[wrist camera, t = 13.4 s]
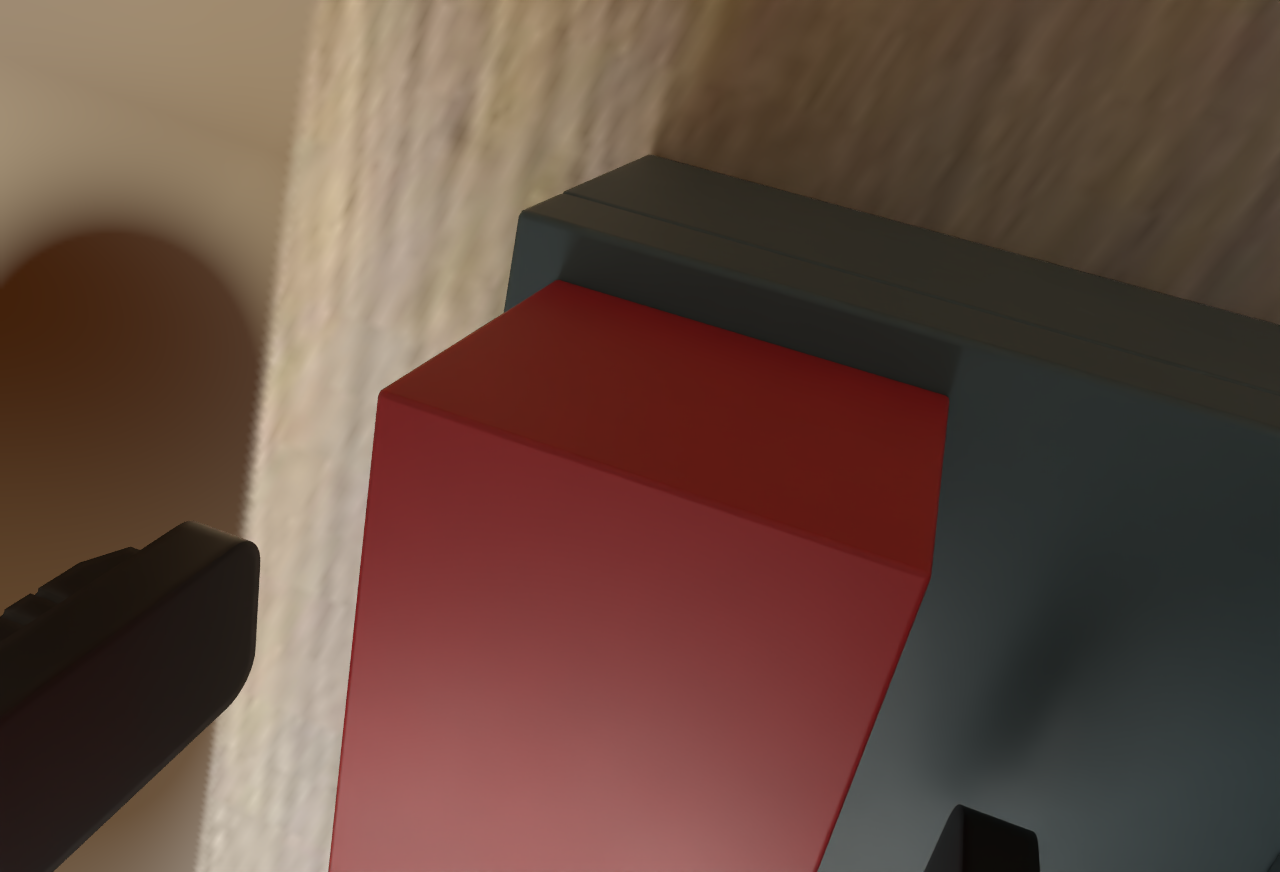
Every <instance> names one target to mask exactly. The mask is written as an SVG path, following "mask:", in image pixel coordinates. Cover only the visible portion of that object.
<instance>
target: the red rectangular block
mask: <svg viewBox="0 0 1280 872" xmlns="http://www.w3.org/2000/svg"><path fill="white" fill-rule="evenodd" d="M948 410H949V398H948V397H947V396H945V395H942V394H939V393H935V392H932V391H929V390H925V389H922V388H919V387H915V386H912V385H909V384H905V383H902V382H899V381H895V380H892V379H889V378H885V377H882V376H878V375H875V374H872V373H868V372H865V371H862V370H858V369H855V368H852V367H848V366H845V365H842V364H838V363H835V362H832V361H828V360H825V359H822V358H818V357H815V356H812V355H808V354H805V353H802V352H798V351H795V350H792V349H788V348H785V347H782V346H778V345H775V344H772V343H768V342H765V341H762V340H758V339H755V338H752V337H748V336H745V335H741V334H738V333H735V332H731V331H728V330H725V329H721V328H718V327H715V326H711V325H708V324H705V323H701V322H698V321H695V320H691V319H688V318H685V317H681V316H678V315H675V314H671V313H668V312H665V311H661V310H658V309H655V308H651V307H648V306H645V305H641V304H638V303H635V302H631V301H628V300H625V299H621V298H618V297H615V296H611V295H608V294H604V293H601V292H598V291H594V290H591V289H588V288H584V287H581V286H578V285H574V284H571V283H568V282H564V281H561V280H555V281H554V282H552V283H551V284H549V285H547V286H546V287H544V288H543V289H541V290H540V291H538V292H536V293H535V294H533V295H532V296H530V297H528V298H527V299H525V300H524V301H522V302H521V303H519V304H517V305H516V306H514V307H513V308H511V309H509V310H508V311H506V312H505V313H503V314H502V315H500V316H498V317H497V318H495V319H494V320H492V321H490V322H489V323H487V324H486V325H484V326H482V327H481V328H479V329H478V330H476V331H475V332H473V333H471V334H470V335H468V336H467V337H465V338H463V339H462V340H460V341H459V342H457V343H456V344H454V345H452V346H451V347H449V348H448V349H446V350H444V351H443V352H441V353H440V354H438V355H436V356H435V357H433V358H432V359H430V360H429V361H427V362H425V363H424V364H422V365H421V366H419V367H417V368H416V369H414V370H413V371H411V372H410V373H408V374H406V375H405V376H403V377H402V378H400V379H398V380H397V381H395V382H394V383H392V384H391V385H389V386H387V387H386V388H384V389H383V390H381V392H380V393H379V396H378V403H377V413H376V422H375V432H374V441H373V451H372V460H371V470H370V479H369V489H368V499H367V508H366V518H365V527H364V537H363V546H362V556H361V565H360V575H359V585H358V594H357V604H356V613H355V623H354V632H353V642H352V651H351V661H350V671H349V680H348V690H347V699H346V709H345V718H344V728H343V737H342V747H341V757H340V766H339V776H338V785H337V795H336V804H335V814H334V823H333V833H332V842H331V852H330V862H329V871H328V872H818V869H819V866H820V864H821V861H822V859H823V856H824V854H825V851H826V848H827V846H828V843H829V841H830V838H831V835H832V833H833V830H834V828H835V825H836V822H837V820H838V817H839V815H840V812H841V810H842V807H843V804H844V802H845V799H846V797H847V794H848V791H849V789H850V786H851V784H852V781H853V778H854V776H855V773H856V771H857V768H858V766H859V763H860V760H861V758H862V755H863V753H864V750H865V747H866V745H867V742H868V740H869V737H870V734H871V732H872V729H873V727H874V724H875V722H876V719H877V716H878V714H879V711H880V709H881V706H882V703H883V701H884V698H885V696H886V693H887V690H888V688H889V685H890V683H891V680H892V678H893V675H894V672H895V670H896V667H897V665H898V662H899V659H900V657H901V654H902V652H903V649H904V646H905V644H906V641H907V639H908V636H909V634H910V631H911V628H912V626H913V623H914V621H915V618H916V615H917V613H918V610H919V608H920V605H921V603H922V600H923V597H924V595H925V592H926V590H927V587H928V584H929V582H930V579H931V573H932V563H933V554H934V544H935V534H936V525H937V515H938V506H939V496H940V487H941V477H942V467H943V458H944V448H945V439H946V429H947V420H948Z"/></svg>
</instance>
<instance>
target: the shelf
mask: <svg viewBox="0 0 1280 872" xmlns="http://www.w3.org/2000/svg"><path fill="white" fill-rule="evenodd" d="M555 280H561V281H564V282H568V283H571V284H574V285H578V286H581V287H584V288H588V289H591V290H594V291H598V292H601V293H604V294H608V295H611V296H615V297H618V298H621V299H625V300H628V301H631V302H635V303H638V304H641V305H645V306H648V307H651V308H655V309H658V310H661V311H665V312H668V313H671V314H675V315H678V316H681V317H685V318H688V319H691V320H695V321H698V322H701V323H705V324H708V325H711V326H715V327H718V328H721V329H725V330H728V331H731V332H735V333H738V334H741V335H745V336H748V337H752V338H755V339H758V340H762V341H765V342H768V343H772V344H775V345H778V346H782V347H785V348H788V349H792V350H795V351H798V352H802V353H805V354H808V355H812V356H815V357H818V358H822V359H825V360H828V361H832V362H835V363H838V364H842V365H845V366H848V367H852V368H855V369H858V370H862V371H865V372H868V373H872V374H875V375H878V376H882V377H885V378H889V379H892V380H895V381H899V382H902V383H905V384H909V385H912V386H915V387H919V388H922V389H925V390H929V391H932V392H935V393H939V394H942V395H945V396H947V397H948V398H949V410H948V420H947V429H946V439H945V448H944V458H943V467H942V477H941V487H940V496H939V506H938V515H937V525H936V534H935V544H934V554H933V563H932V573H931V579H930V582H929V584H928V587H927V590H926V592H925V595H924V597H923V600H922V603H921V605H920V608H919V610H918V613H917V615H916V618H915V621H914V623H913V626H912V628H911V631H910V634H909V636H908V639H907V641H906V644H905V646H904V649H903V652H902V654H901V657H900V659H899V662H898V665H897V667H896V670H895V672H894V675H893V678H892V680H891V683H890V685H889V688H888V690H887V693H886V696H885V698H884V701H883V703H882V706H881V709H880V711H879V714H878V716H877V719H876V722H875V724H874V727H873V729H872V732H871V734H870V737H869V740H868V742H867V745H866V747H865V750H864V753H863V755H862V758H861V760H860V763H859V766H858V768H857V771H856V773H855V776H854V778H853V781H852V784H851V786H850V789H849V791H848V794H847V797H846V799H845V802H844V804H843V807H842V810H841V812H840V815H839V817H838V820H837V822H836V825H835V828H834V830H833V833H832V835H831V838H830V841H829V843H828V846H827V848H826V851H825V854H824V856H823V859H822V861H821V864H820V866H819V869H818V872H924V870H925V868H926V866H927V864H928V862H929V859H930V857H931V855H932V853H933V851H934V848H935V846H936V844H937V842H938V840H939V837H940V835H941V833H942V831H943V829H944V826H945V824H946V822H947V820H948V818H949V816H950V814H951V812H952V810H953V809H954V808H955V806H957V805H959V804H960V805H963V806H966V807H969V808H971V809H974V810H977V811H979V812H982V813H985V814H988V815H990V816H993V817H996V818H999V819H1001V820H1004V821H1007V822H1009V823H1012V824H1015V825H1018V826H1020V827H1023V828H1026V829H1028V830H1031V831H1033V832H1035V834H1036V836H1037V839H1038V846H1039V860H1040V872H1280V325H1276V324H1273V323H1269V322H1265V321H1262V320H1258V319H1254V318H1251V317H1247V316H1243V315H1240V314H1236V313H1232V312H1229V311H1225V310H1221V309H1217V308H1214V307H1210V306H1206V305H1203V304H1199V303H1195V302H1192V301H1188V300H1184V299H1181V298H1177V297H1173V296H1170V295H1166V294H1162V293H1159V292H1155V291H1151V290H1147V289H1144V288H1140V287H1136V286H1133V285H1129V284H1125V283H1122V282H1118V281H1114V280H1111V279H1107V278H1103V277H1100V276H1096V275H1092V274H1089V273H1085V272H1081V271H1078V270H1074V269H1070V268H1066V267H1063V266H1059V265H1055V264H1052V263H1048V262H1044V261H1041V260H1037V259H1033V258H1030V257H1026V256H1022V255H1019V254H1015V253H1011V252H1008V251H1004V250H1000V249H996V248H993V247H989V246H985V245H982V244H978V243H974V242H971V241H967V240H963V239H960V238H956V237H952V236H949V235H945V234H941V233H938V232H934V231H930V230H927V229H923V228H919V227H915V226H912V225H908V224H904V223H901V222H897V221H893V220H890V219H886V218H882V217H879V216H875V215H871V214H868V213H864V212H860V211H857V210H853V209H849V208H845V207H842V206H838V205H834V204H831V203H827V202H823V201H820V200H816V199H812V198H809V197H805V196H801V195H798V194H794V193H790V192H787V191H783V190H779V189H776V188H772V187H768V186H764V185H761V184H757V183H753V182H750V181H746V180H742V179H739V178H735V177H731V176H728V175H724V174H720V173H717V172H713V171H709V170H706V169H702V168H698V167H695V166H691V165H687V164H683V163H680V162H676V161H672V160H669V159H665V158H661V157H658V156H654V155H647V156H645V157H642V158H640V159H638V160H636V161H633V162H631V163H629V164H626V165H624V166H622V167H619V168H617V169H615V170H613V171H610V172H608V173H606V174H603V175H601V176H599V177H596V178H594V179H592V180H590V181H587V182H585V183H583V184H580V185H578V186H576V187H573V188H571V189H569V190H567V191H564V193H563V194H560V195H557V196H555V197H553V198H550V199H548V200H546V201H544V202H541V203H539V204H537V205H534V206H532V207H530V208H527V209H525V210H523V211H522V212H521V214H520V215H519V219H518V226H517V232H516V239H515V245H514V251H513V258H512V264H511V270H510V277H509V283H508V290H507V296H506V302H505V309H504V313H505V312H506V311H508V310H509V309H511V308H513V307H514V306H516V305H517V304H519V303H521V302H522V301H524V300H525V299H527V298H528V297H530V296H532V295H533V294H535V293H536V292H538V291H540V290H541V289H543V288H544V287H546V286H547V285H549V284H551V283H552V282H554V281H555Z"/></svg>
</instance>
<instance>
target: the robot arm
mask: <svg viewBox="0 0 1280 872" xmlns="http://www.w3.org/2000/svg"><path fill="white" fill-rule="evenodd" d="M259 576H260V553H259V550H258V547H257V546H256V545H255V544H254V543H253V542H251V541H248V540H245V539H243V538H240V537H237V536H234V535H232V534H229V533H226V532H223V531H221V530H218V529H215V528H213V527H210V526H207V525H205V524H202V523H199V522H195V521H187V522H184V523H182V524H180V525H178V526H176V527H175V528H173V529H172V530H170V531H169V532H167V533H166V534H164V535H163V536H161V537H160V538H158V539H157V540H155V541H154V542H152V543H150V544H149V545H147V546H146V547H144V548H143V549H142V550H138V549H135V548H133V547H128V548H125V549H122V550H119V551H115V552H112V553H109V554H106V555H103V556H100V557H96V558H93V559H90V560H87V561H84V562H80V563H78V564H77V565H75V566H73V567H72V568H70V569H69V570H67V571H65V572H64V573H62V574H61V575H59V576H58V577H56V578H54V579H53V580H51V581H50V582H48V583H46V584H45V585H43V586H41V587H40V588H39V589H38V592H37V593H36V594H35V595H33V594H29V595H27V596H25V597H24V598H22V599H21V600H19V601H17V602H16V603H14V604H13V605H11V606H9V607H8V608H6V609H5V611H4V614H3V615H2V616H1V617H0V872H53V871H54V870H55V869H56V868H58V867H59V866H60V865H61V864H62V863H63V862H64V861H65V860H66V859H67V858H68V857H69V856H70V855H71V854H72V853H74V851H76V850H77V849H78V848H79V847H80V846H81V845H82V844H83V843H84V842H85V841H86V840H87V839H88V838H89V837H91V835H93V834H94V833H95V832H96V831H97V830H98V829H99V828H100V827H101V826H102V825H103V824H104V823H105V822H106V821H107V820H109V819H110V818H111V817H112V816H113V815H114V814H115V813H116V812H117V811H118V810H119V809H120V808H121V807H122V806H123V805H125V803H127V802H128V801H129V800H130V799H131V798H132V797H133V796H134V795H135V794H136V793H137V792H138V791H139V790H140V789H142V788H143V787H144V786H145V785H146V784H147V783H148V782H149V781H150V780H151V779H152V778H153V777H154V776H155V775H156V774H157V773H158V772H160V771H161V770H162V769H163V768H164V767H165V766H166V765H167V764H168V763H169V762H170V761H171V760H172V759H173V758H175V756H176V755H178V754H179V753H180V752H181V751H182V750H183V749H184V748H185V747H186V746H187V745H188V744H189V743H190V742H191V741H193V740H194V739H195V738H196V737H197V736H198V735H199V734H200V733H201V732H202V731H203V730H204V729H205V728H206V727H207V726H209V725H210V724H211V723H212V722H213V721H214V720H215V719H216V718H217V717H218V716H219V715H220V714H221V713H222V712H223V711H225V710H226V709H227V708H228V707H229V705H230V704H231V703H232V702H233V701H234V700H235V698H236V697H237V696H238V694H239V693H240V691H241V689H242V688H243V686H244V684H245V682H246V680H247V678H248V676H249V673H250V671H251V668H252V665H253V661H254V656H255V647H256V629H257V611H258V594H259ZM924 872H1040V860H1039V846H1038V839H1037V836H1036V834H1035V832H1033V831H1031V830H1028V829H1026V828H1023V827H1020V826H1018V825H1015V824H1012V823H1009V822H1007V821H1004V820H1001V819H999V818H996V817H993V816H990V815H988V814H985V813H982V812H979V811H977V810H974V809H971V808H969V807H966V806H963V805H960V804H959V805H957V806H955V808H954V809H953V810H952V812H951V814H950V816H949V818H948V820H947V822H946V824H945V826H944V829H943V831H942V833H941V835H940V837H939V840H938V842H937V844H936V846H935V848H934V851H933V853H932V855H931V857H930V859H929V862H928V864H927V866H926V868H925V870H924Z"/></svg>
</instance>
